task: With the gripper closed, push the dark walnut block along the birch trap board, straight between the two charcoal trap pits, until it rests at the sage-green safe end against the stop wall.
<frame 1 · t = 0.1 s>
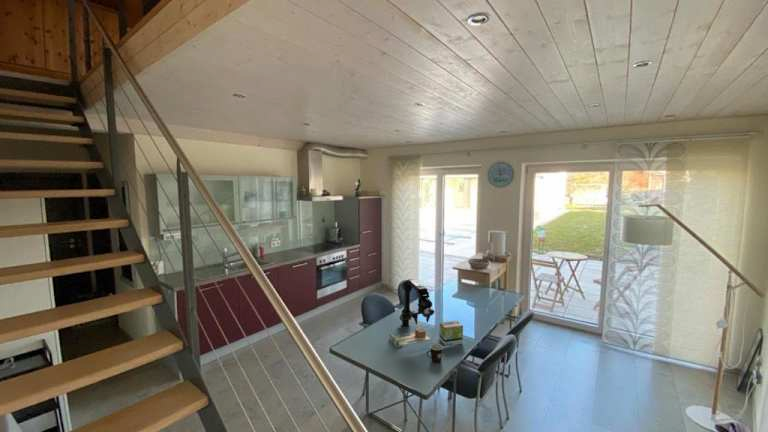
hand: (421, 323, 247), 15 cm above the table, fingers open, 9 cm apart
trap board: (410, 340, 251), on the table
coffee mug: (434, 361, 222), on the table
walnut block: (420, 335, 255), point 1 cm above the table, touching trap board
tea box: (450, 342, 247), on the table
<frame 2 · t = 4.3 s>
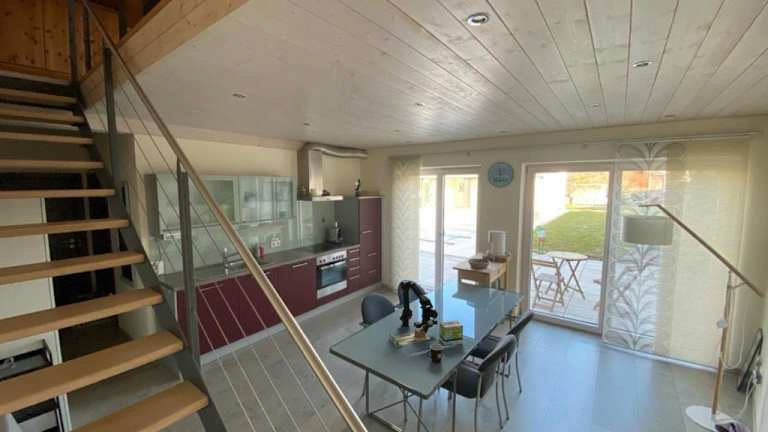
hand: (425, 333, 256), 3 cm above the table, fingers closed
walnut block: (419, 336, 254), point 2 cm above the table, touching gripper
everything else where it was.
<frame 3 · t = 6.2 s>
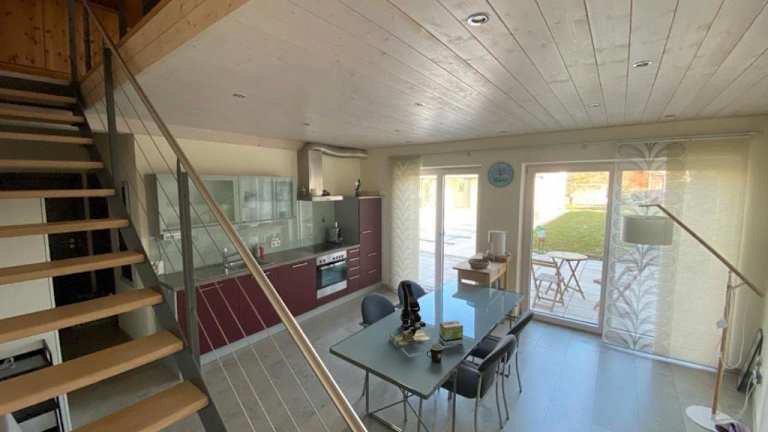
hand: (413, 336, 252), 3 cm above the table, fingers closed
walnut block: (407, 338, 250), point 2 cm above the table, touching gripper
everything else where it was.
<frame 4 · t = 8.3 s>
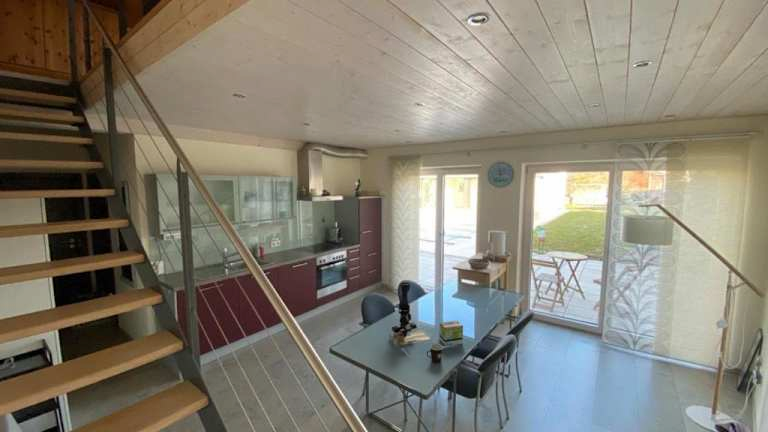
hand: (404, 338, 249), 3 cm above the table, fingers closed
walnut block: (398, 340, 247), point 2 cm above the table, touching gripper, trap board
everything else where it was.
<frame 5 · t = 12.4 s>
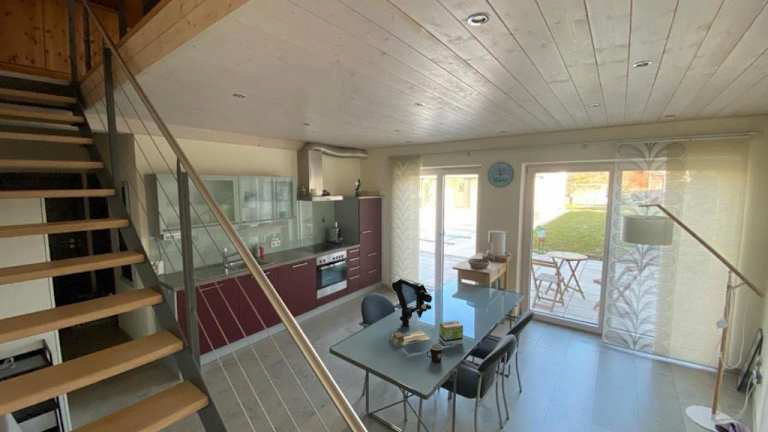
hand: (419, 318, 263), 12 cm above the table, fingers closed
walnut block: (398, 340, 247), point 1 cm above the table, touching trap board
everything else where it was.
at the end: walnut block inside the target area (0.6 cm from its centre), point 1.5 cm above the table; walnut block tilted 0° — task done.
